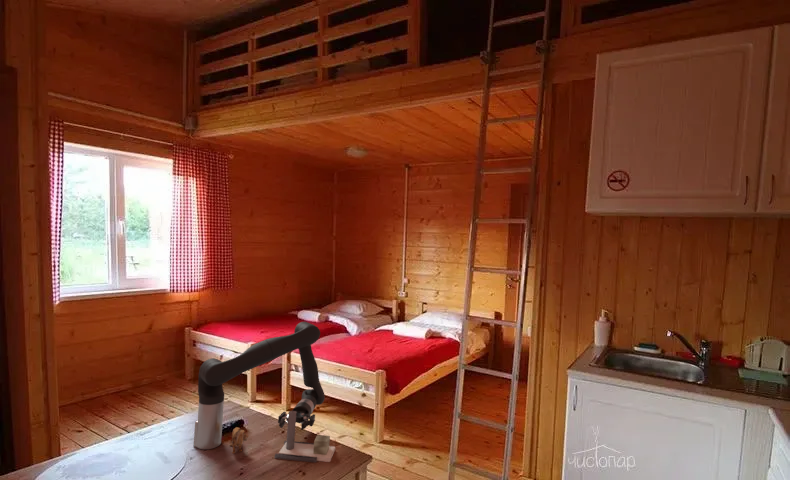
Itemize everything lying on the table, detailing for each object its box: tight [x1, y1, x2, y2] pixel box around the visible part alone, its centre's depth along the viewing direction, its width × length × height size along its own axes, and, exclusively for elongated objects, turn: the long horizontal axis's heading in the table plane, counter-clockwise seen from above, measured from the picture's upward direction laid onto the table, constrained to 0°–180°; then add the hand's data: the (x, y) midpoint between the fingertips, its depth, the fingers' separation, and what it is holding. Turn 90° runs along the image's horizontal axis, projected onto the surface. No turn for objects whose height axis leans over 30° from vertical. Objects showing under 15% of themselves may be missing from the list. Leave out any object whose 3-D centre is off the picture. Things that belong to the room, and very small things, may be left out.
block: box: [313, 434, 331, 455], centre depth 162 cm, size 5×5×5 cm
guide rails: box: [274, 440, 318, 463], centre depth 163 cm, size 16×12×2 cm
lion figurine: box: [229, 426, 250, 455], centre depth 164 cm, size 15×5×9 cm, turn 35°
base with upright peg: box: [278, 410, 336, 463], centre depth 163 cm, size 20×9×16 cm, turn 86°
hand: (291, 426), depth 164 cm, fingers open, 8 cm apart
